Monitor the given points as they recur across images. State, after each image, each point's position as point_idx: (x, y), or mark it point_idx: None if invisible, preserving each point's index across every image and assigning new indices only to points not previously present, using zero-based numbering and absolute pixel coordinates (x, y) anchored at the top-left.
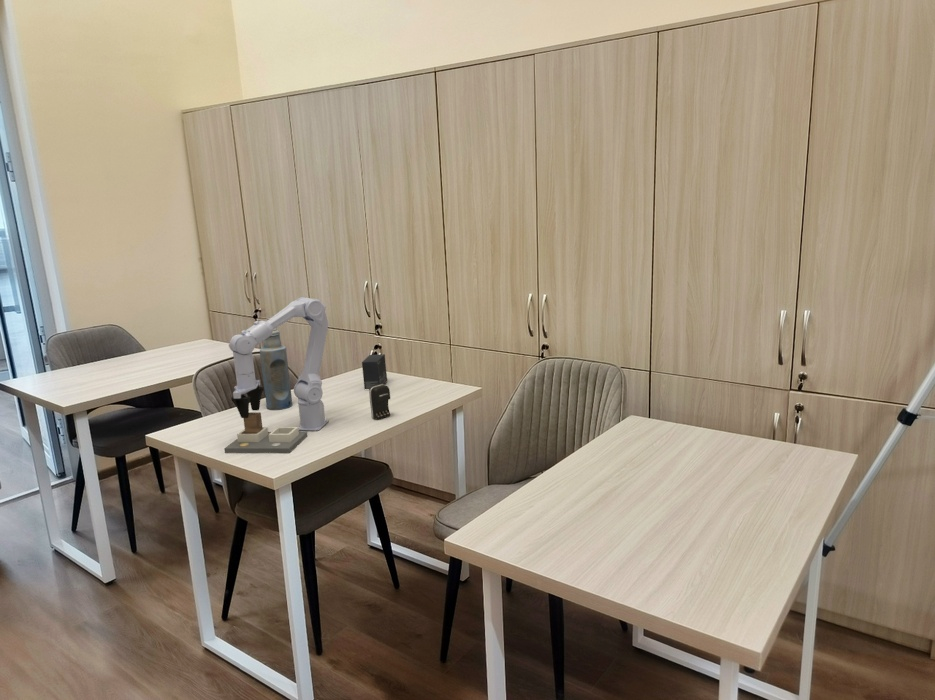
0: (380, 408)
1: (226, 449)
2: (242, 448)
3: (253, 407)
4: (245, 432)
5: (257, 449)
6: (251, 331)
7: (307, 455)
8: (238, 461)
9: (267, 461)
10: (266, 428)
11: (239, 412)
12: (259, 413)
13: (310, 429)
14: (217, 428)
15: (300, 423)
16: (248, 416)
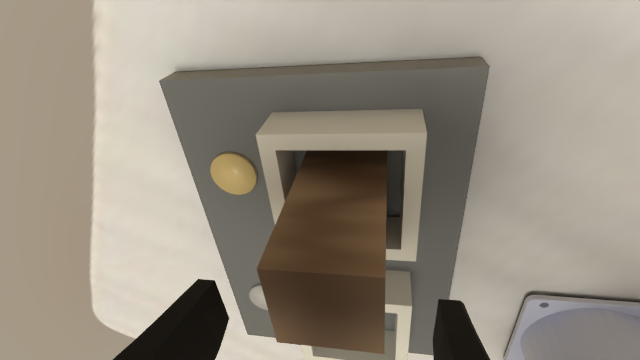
0: None
1: (167, 92)
2: (195, 182)
3: (440, 341)
4: (295, 179)
5: (218, 239)
6: None
7: (250, 357)
8: (124, 191)
9: (169, 280)
10: (399, 258)
11: (154, 324)
12: (360, 349)
13: (511, 344)
14: None
15: (575, 328)
16: (226, 326)
